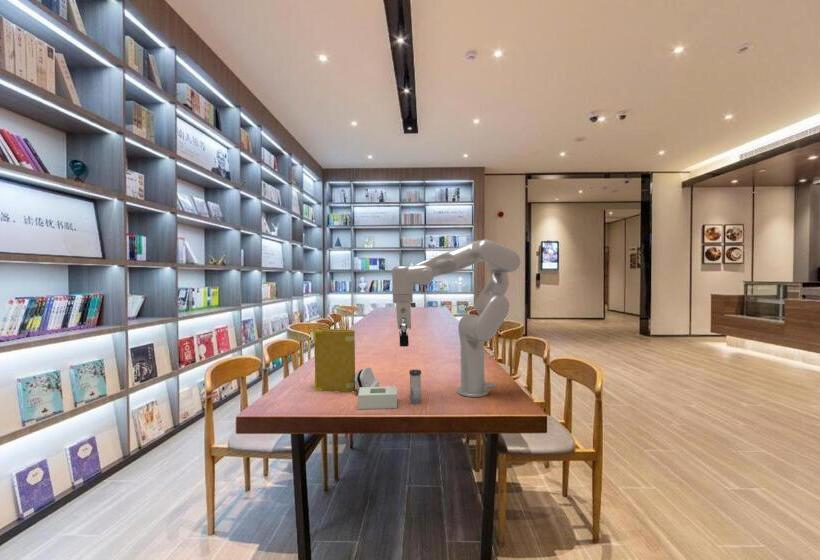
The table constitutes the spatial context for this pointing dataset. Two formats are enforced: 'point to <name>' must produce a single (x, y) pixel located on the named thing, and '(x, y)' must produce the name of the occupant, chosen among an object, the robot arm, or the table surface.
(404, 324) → the robot arm
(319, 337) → the book
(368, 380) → the hinge
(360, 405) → the socket block
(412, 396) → the pin
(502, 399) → the table surface
